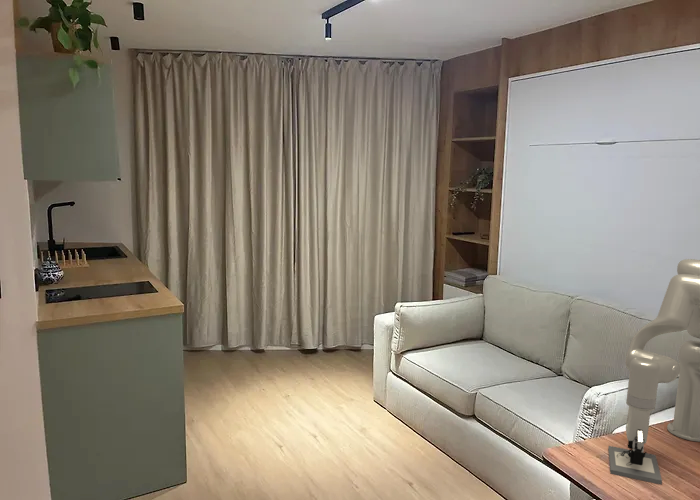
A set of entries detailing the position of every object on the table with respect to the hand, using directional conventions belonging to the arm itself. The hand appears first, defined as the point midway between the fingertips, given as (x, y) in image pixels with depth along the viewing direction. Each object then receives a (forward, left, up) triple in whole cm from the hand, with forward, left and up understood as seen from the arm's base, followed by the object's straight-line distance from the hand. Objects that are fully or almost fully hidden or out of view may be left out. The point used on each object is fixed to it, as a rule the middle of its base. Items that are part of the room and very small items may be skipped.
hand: (634, 456), depth 167 cm
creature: (0, -1, -2) cm, 2 cm away
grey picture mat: (0, 0, -3) cm, 3 cm away
